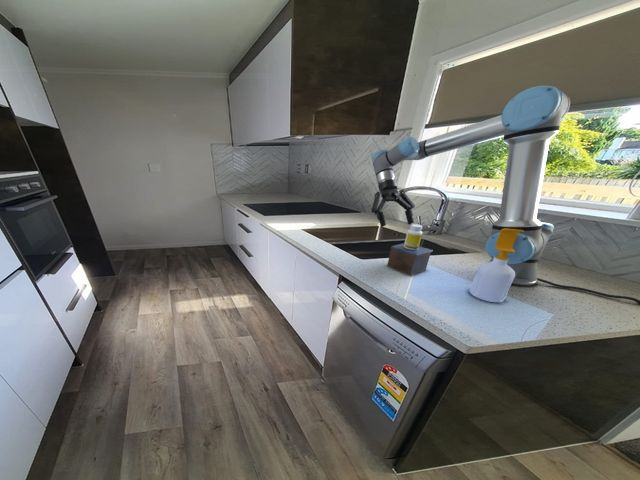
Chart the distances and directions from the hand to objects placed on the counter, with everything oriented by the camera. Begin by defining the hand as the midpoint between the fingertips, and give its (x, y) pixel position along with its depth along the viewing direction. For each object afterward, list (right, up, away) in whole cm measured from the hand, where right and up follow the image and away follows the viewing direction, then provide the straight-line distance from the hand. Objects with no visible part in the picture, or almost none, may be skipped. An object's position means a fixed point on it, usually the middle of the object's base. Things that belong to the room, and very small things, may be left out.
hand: (397, 224), depth 110 cm
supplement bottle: (+1, -11, -8) cm, 14 cm away
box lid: (+1, -12, -8) cm, 14 cm away
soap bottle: (+16, -28, -26) cm, 41 cm away
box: (+1, -20, -5) cm, 20 cm away
